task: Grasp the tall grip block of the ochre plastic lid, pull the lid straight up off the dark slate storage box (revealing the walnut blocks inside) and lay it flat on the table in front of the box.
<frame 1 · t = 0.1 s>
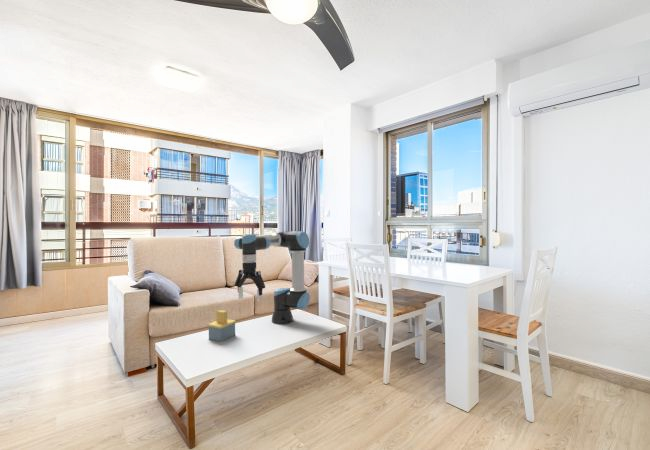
hand: (249, 299, 173), 28 cm above the table, fingers open, 13 cm apart
box: (222, 337, 192), on the table
lid: (222, 324, 192), point 8 cm above the table, touching box
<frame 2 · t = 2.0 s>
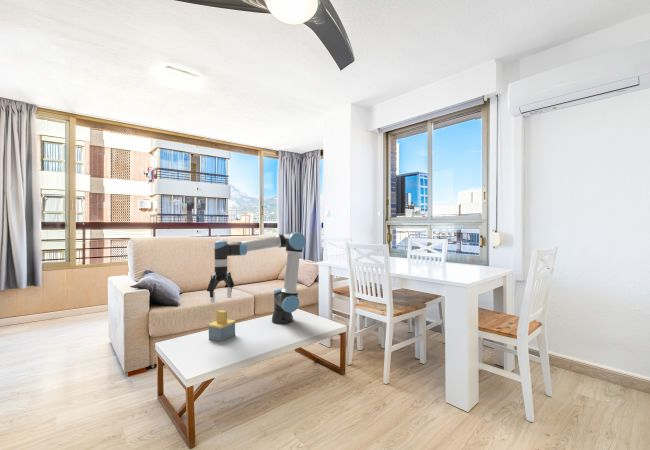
hand: (221, 300, 191), 23 cm above the table, fingers open, 13 cm apart
nothing on the table moved.
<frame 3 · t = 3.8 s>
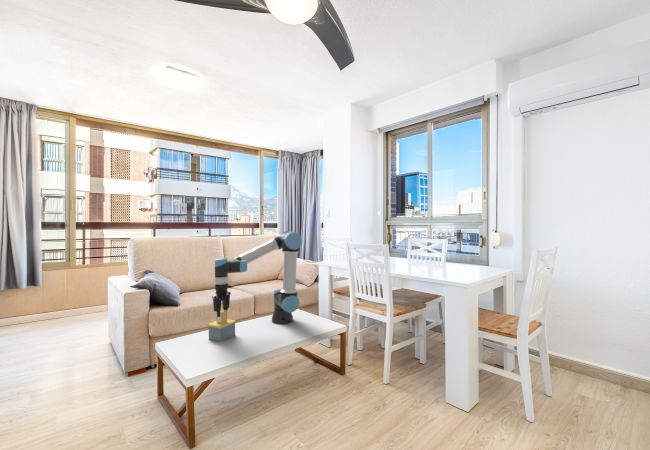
hand: (222, 320, 192), 10 cm above the table, fingers closed on lid, 3 cm apart
lid: (222, 324, 192), point 8 cm above the table, touching box, gripper
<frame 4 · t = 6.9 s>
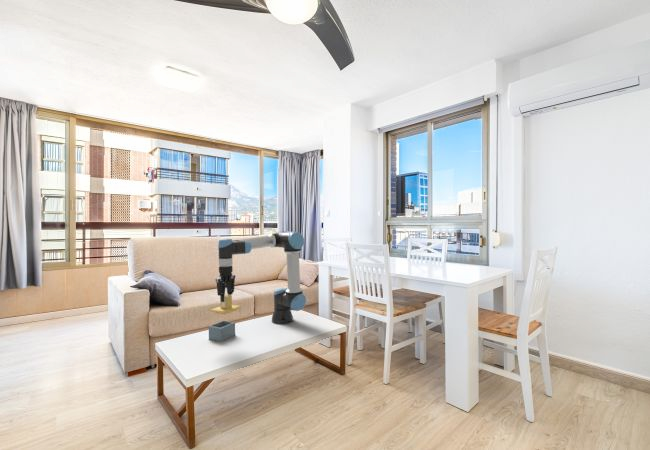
hand: (226, 306, 178), 23 cm above the table, fingers closed on lid, 3 cm apart
lid: (226, 309, 178), point 21 cm above the table, touching gripper
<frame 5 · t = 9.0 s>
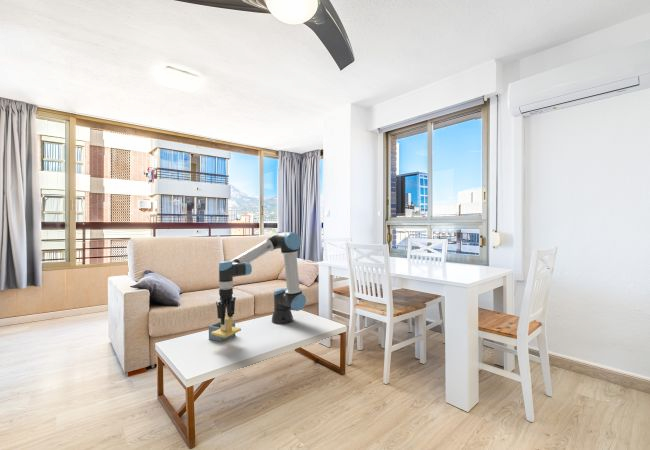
hand: (226, 328, 178), 10 cm above the table, fingers closed on lid, 3 cm apart
lid: (226, 332, 178), point 8 cm above the table, touching gripper
when the fingers open (5 cm above the table, at t = 10.4 s): lid drops 2 cm, point 1 cm above the table.
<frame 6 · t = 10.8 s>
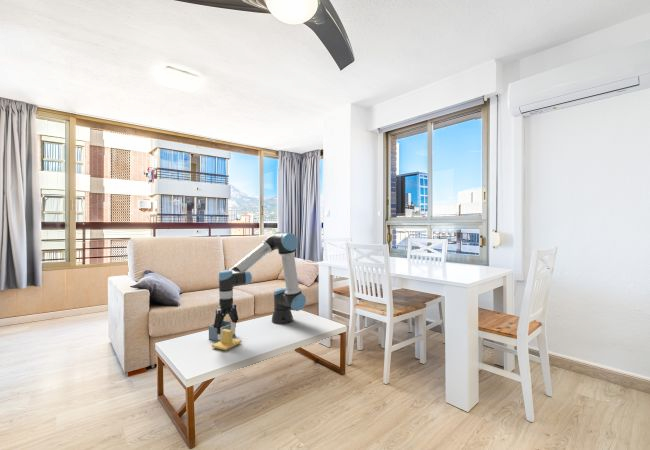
hand: (226, 336, 178), 6 cm above the table, fingers open, 9 cm apart
lid: (226, 344, 178), point 1 cm above the table
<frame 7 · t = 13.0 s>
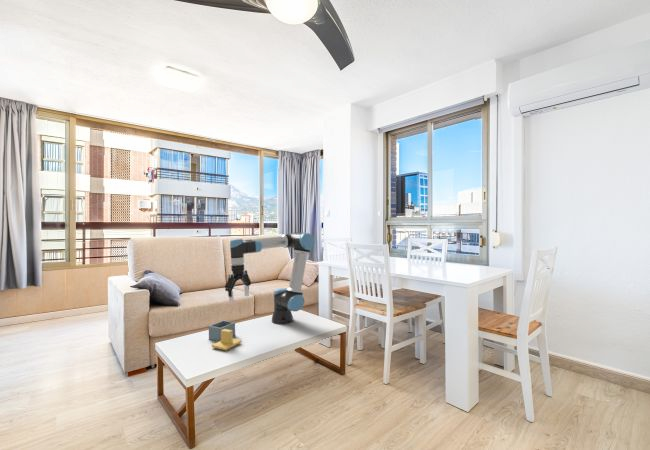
hand: (239, 298, 188), 24 cm above the table, fingers open, 13 cm apart
nothing on the table moved.
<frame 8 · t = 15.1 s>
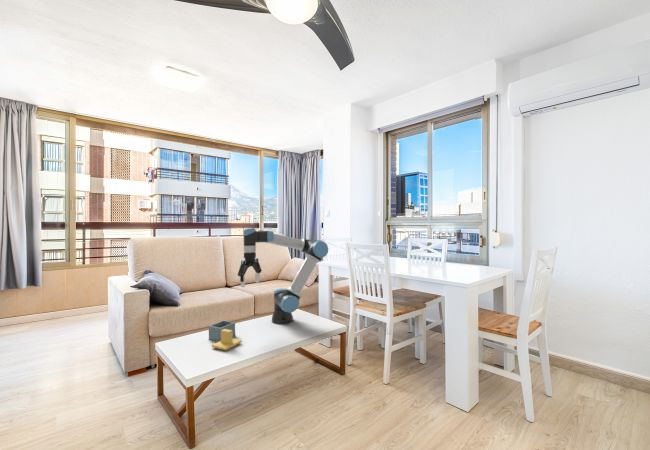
hand: (250, 284, 200), 31 cm above the table, fingers open, 13 cm apart
nothing on the table moved.
at the end: lid inside the target area (0.5 cm from its centre), point 0.8 cm above the table; lid tilted 0°; the gripper is holding nothing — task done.
